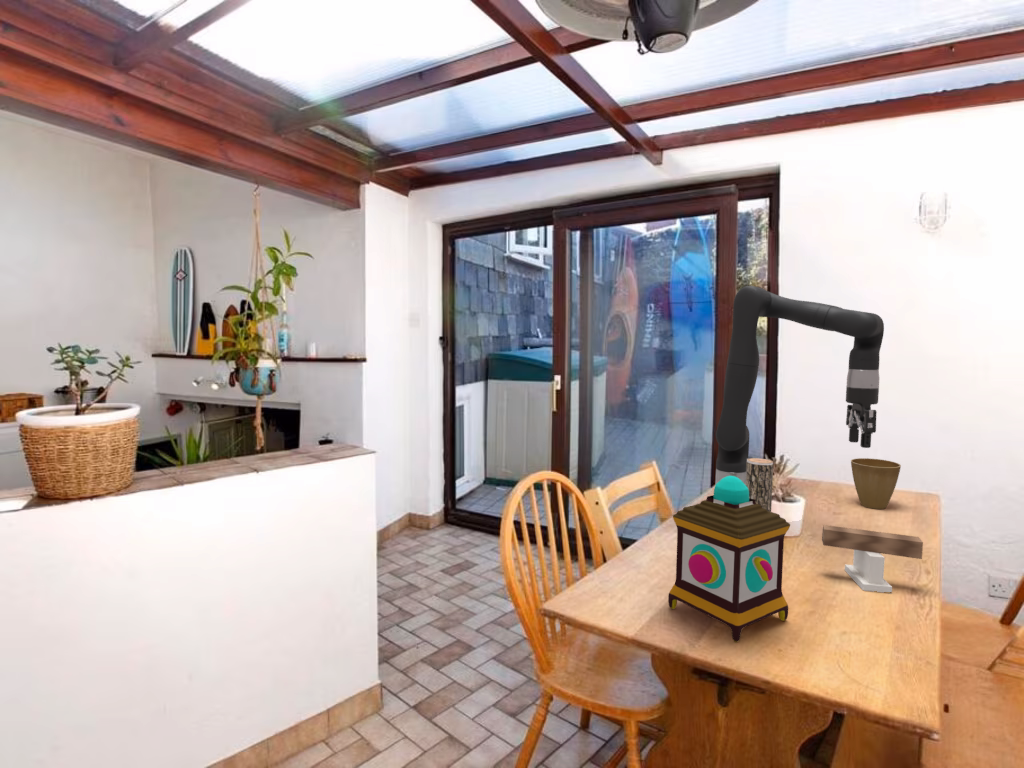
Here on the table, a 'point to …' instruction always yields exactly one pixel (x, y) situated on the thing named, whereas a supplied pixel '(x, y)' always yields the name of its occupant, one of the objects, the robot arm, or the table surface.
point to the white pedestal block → (868, 571)
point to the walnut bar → (872, 541)
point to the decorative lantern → (730, 558)
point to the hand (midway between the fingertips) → (859, 444)
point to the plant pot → (874, 481)
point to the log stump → (760, 481)
